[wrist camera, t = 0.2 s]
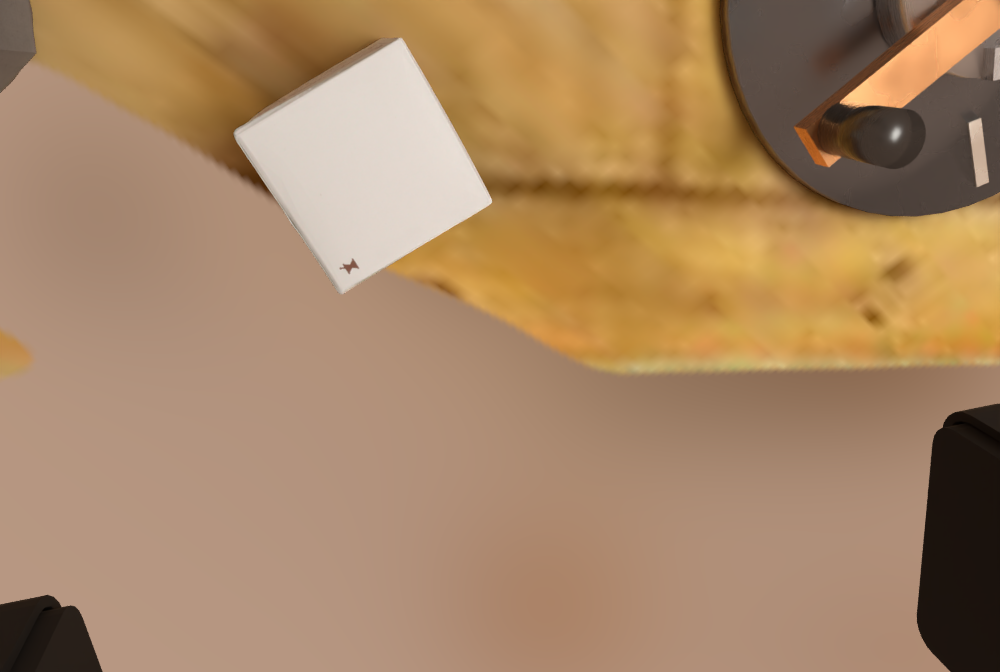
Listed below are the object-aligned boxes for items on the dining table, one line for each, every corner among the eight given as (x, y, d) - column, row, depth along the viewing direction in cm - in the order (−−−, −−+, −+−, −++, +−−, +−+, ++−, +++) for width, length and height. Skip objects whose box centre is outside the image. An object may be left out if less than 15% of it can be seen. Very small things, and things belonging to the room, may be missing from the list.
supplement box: (456, 162, 44) (500, 209, 32) (336, 231, 44) (336, 302, 32) (385, 32, 41) (404, 31, 29) (257, 106, 41) (225, 135, 29)
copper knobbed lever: (1002, -173, 41) (1178, -228, 33) (1070, -5, 45) (1244, -15, 36) (721, 61, 43) (819, 69, 34) (810, 205, 47) (918, 244, 38)
